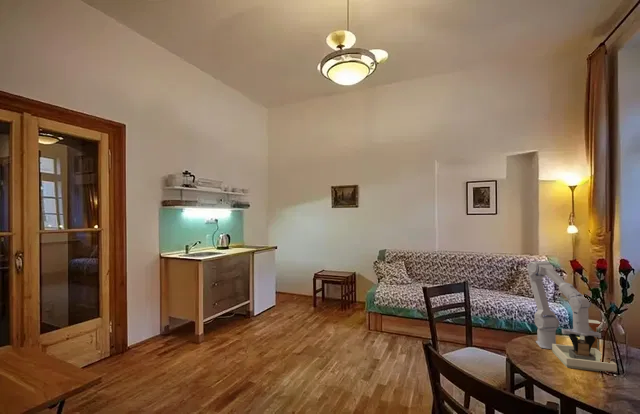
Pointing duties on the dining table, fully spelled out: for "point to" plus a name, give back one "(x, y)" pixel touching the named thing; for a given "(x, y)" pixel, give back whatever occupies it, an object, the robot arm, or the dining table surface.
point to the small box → (592, 327)
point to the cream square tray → (582, 359)
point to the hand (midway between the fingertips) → (581, 351)
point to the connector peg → (582, 348)
